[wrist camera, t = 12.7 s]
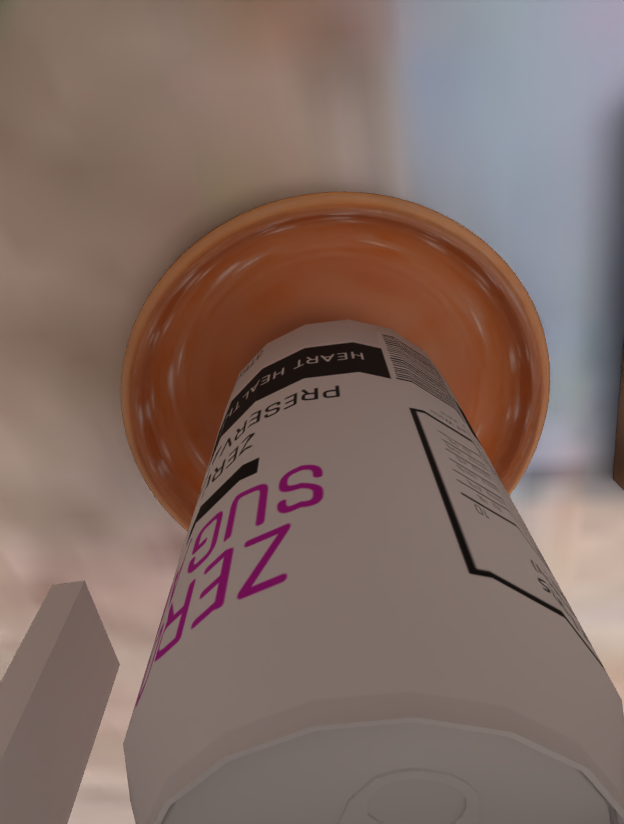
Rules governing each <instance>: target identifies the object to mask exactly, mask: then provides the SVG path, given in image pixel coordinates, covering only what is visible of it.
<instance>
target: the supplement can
mask: <svg viewBox="0 0 624 824" xmlns="http://www.w3.org/2000/svg"><path fill="white" fill-rule="evenodd" d="M123 747H124V755H125V762H126V770H127V778H128V786H129V794H130V801H131V805H132V810H133V814H134V818H135V822H136V824H624V715H623V707H622V700H621V698H620V696H619V694H618V693H617V691H616V689H615V687H614V685H613V683H612V682H611V680H610V678H609V676H608V674H607V673H606V671H605V669H604V667H603V665H602V663H601V662H600V660H599V658H598V656H597V654H596V653H595V651H594V649H593V647H592V645H591V643H590V642H589V640H588V638H587V636H586V634H585V633H584V631H583V629H582V627H581V625H580V623H579V622H578V620H577V618H576V616H575V614H574V613H573V611H572V609H571V607H570V605H569V603H568V602H567V600H566V598H565V596H564V594H563V593H562V591H561V589H560V587H559V585H558V583H557V582H556V580H555V578H554V576H553V574H552V573H551V571H550V569H549V567H548V565H547V563H546V562H545V560H544V558H543V556H542V554H541V553H540V551H539V549H538V547H537V545H536V543H535V542H534V540H533V538H532V536H531V534H530V533H529V531H528V529H527V527H526V525H525V523H524V522H523V520H522V518H521V516H520V514H519V513H518V511H517V509H516V507H515V505H514V503H513V502H512V500H511V498H510V496H509V494H508V493H507V491H506V489H505V487H504V485H503V483H502V482H501V480H500V478H499V476H498V474H497V473H496V471H495V469H494V467H493V465H492V463H491V462H490V460H489V458H488V456H487V454H486V453H485V451H484V449H483V447H482V445H481V443H480V442H479V440H478V438H477V436H476V434H475V433H474V431H473V429H472V427H471V425H470V423H469V422H468V420H467V418H466V416H465V414H464V413H463V411H462V409H461V407H460V405H459V403H458V402H457V400H456V398H455V396H454V394H453V393H452V391H451V389H450V387H449V385H448V383H447V382H446V380H445V379H444V378H443V376H442V375H441V373H440V372H439V371H438V369H437V368H436V366H435V365H434V364H433V362H432V361H431V359H430V358H429V357H428V355H427V354H426V352H425V351H424V350H422V349H421V348H419V347H418V346H416V345H415V344H413V343H412V342H410V341H409V340H407V339H405V338H404V337H402V336H401V335H399V334H398V333H396V332H395V331H393V330H391V329H390V328H385V327H381V326H376V325H372V324H367V323H363V322H358V321H354V320H349V319H347V320H338V321H330V322H322V323H314V324H306V325H303V326H301V327H299V328H297V329H295V330H293V331H291V332H289V333H287V334H285V335H283V336H281V337H279V338H277V339H275V340H273V341H271V342H269V343H267V344H266V345H265V346H264V347H263V349H262V350H261V351H260V352H259V353H258V354H257V355H256V356H255V357H254V358H253V359H252V360H251V361H250V362H249V363H248V365H247V366H246V367H245V368H244V369H243V370H242V371H241V372H240V373H239V376H238V378H237V381H236V384H235V386H234V389H233V391H232V394H231V396H230V399H229V401H228V404H227V406H226V409H225V412H224V416H223V419H222V422H221V425H220V429H219V432H218V435H217V439H216V442H215V445H214V448H213V452H212V455H211V458H210V462H209V465H208V468H207V471H206V475H205V478H204V481H203V484H202V488H201V491H200V494H199V498H198V501H197V504H196V507H195V511H194V514H193V517H192V520H191V524H190V527H189V530H188V534H187V537H186V540H185V543H184V547H183V550H182V553H181V556H180V560H179V563H178V566H177V570H176V573H175V576H174V579H173V583H172V586H171V589H170V592H169V596H168V599H167V602H166V606H165V609H164V612H163V615H162V619H161V622H160V625H159V629H158V632H157V635H156V638H155V642H154V645H153V648H152V651H151V655H150V658H149V661H148V665H147V668H146V671H145V674H144V678H143V681H142V684H141V687H140V691H139V694H138V697H137V701H136V704H135V707H134V710H133V714H132V717H131V720H130V723H129V727H128V730H127V733H126V737H125V740H124V743H123Z"/></svg>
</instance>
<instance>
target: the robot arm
mask: <svg viewBox="0 0 624 824" xmlns="http://www.w3.org/2000/svg"><path fill="white" fill-rule="evenodd" d="M119 665H120V664H119V661H118V659H117V657H116V654H115V652H114V650H113V647H112V645H111V642H110V640H109V638H108V635H107V633H106V631H105V628H104V626H103V623H102V621H101V619H100V616H99V614H98V612H97V609H96V607H95V604H94V602H93V600H92V597H91V595H90V593H89V590H88V588H87V585H86V583H85V581H79V582H71V583H64V584H56V585H52V587H51V588H50V590H49V592H48V594H47V596H46V598H45V600H44V602H43V603H42V605H41V607H40V609H39V611H38V613H37V615H36V617H35V619H34V620H33V622H32V624H31V626H30V628H29V630H28V632H27V634H26V635H25V637H24V639H23V641H22V643H21V645H20V647H19V649H18V650H17V652H16V654H15V656H14V658H13V660H12V662H11V664H10V666H9V667H8V669H7V671H6V673H5V675H4V677H3V679H2V681H1V682H0V824H67V823H68V820H69V817H70V814H71V811H72V808H73V805H74V802H75V798H76V795H77V792H78V789H79V786H80V783H81V780H82V777H83V774H84V771H85V768H86V765H87V762H88V759H89V756H90V753H91V750H92V747H93V744H94V741H95V738H96V735H97V732H98V729H99V726H100V723H101V720H102V717H103V714H104V711H105V708H106V705H107V702H108V699H109V696H110V693H111V690H112V687H113V684H114V681H115V678H116V674H117V671H118V668H119Z"/></svg>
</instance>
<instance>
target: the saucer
mask: <svg viewBox="0 0 624 824" xmlns="http://www.w3.org/2000/svg"><path fill="white" fill-rule="evenodd" d="M347 319H349V320H354V321H358V322H363V323H367V324H372V325H376V326H381V327H385V328H390V329H391V330H393V331H395V332H396V333H398V334H399V335H401V336H402V337H404V338H405V339H407V340H409V341H410V342H412V343H413V344H415V345H416V346H418V347H419V348H421V349H422V350H424V351H425V352H426V354H427V355H428V357H429V358H430V359H431V361H432V362H433V364H434V365H435V366H436V368H437V369H438V371H439V372H440V373H441V375H442V376H443V378H444V379H445V380H446V382H447V383H448V385H449V387H450V389H451V391H452V393H453V394H454V396H455V398H456V400H457V402H458V403H459V405H460V407H461V409H462V411H463V413H464V414H465V416H466V418H467V420H468V422H469V423H470V425H471V427H472V429H473V431H474V433H475V434H476V436H477V438H478V440H479V442H480V443H481V445H482V447H483V449H484V451H485V453H486V454H487V456H488V458H489V460H490V462H491V463H492V465H493V467H494V469H495V471H496V473H497V474H498V476H499V478H500V480H501V482H502V483H503V485H504V487H505V489H506V491H507V493H508V494H509V495H510V494H511V492H512V491H513V490H514V488H515V487H516V485H517V484H518V482H519V481H520V479H521V477H522V476H523V474H524V472H525V471H526V469H527V467H528V465H529V463H530V461H531V459H532V457H533V454H534V452H535V450H536V448H537V445H538V442H539V439H540V436H541V433H542V430H543V426H544V422H545V418H546V413H547V408H548V402H549V392H550V364H549V356H548V349H547V344H546V339H545V335H544V331H543V328H542V324H541V321H540V318H539V316H538V313H537V311H536V309H535V306H534V304H533V302H532V300H531V298H530V296H529V294H528V293H527V291H526V289H525V288H524V286H523V285H522V283H521V281H520V280H519V279H518V277H517V276H516V274H515V273H514V272H513V271H512V269H511V268H510V267H509V266H508V264H507V263H506V262H505V261H504V260H503V259H502V258H501V257H500V256H499V255H498V254H497V253H496V252H495V251H494V250H493V249H492V248H491V247H490V246H489V245H488V244H487V243H485V242H484V241H483V240H482V239H481V238H479V237H478V236H477V235H475V234H474V233H473V232H471V231H470V230H468V229H467V228H465V227H463V226H462V225H460V224H459V223H457V222H455V221H454V220H452V219H450V218H448V217H446V216H444V215H442V214H440V213H438V212H436V211H434V210H431V209H429V208H426V207H424V206H421V205H418V204H415V203H412V202H409V201H405V200H402V199H398V198H394V197H389V196H384V195H378V194H371V193H362V192H324V193H314V194H306V195H300V196H295V197H290V198H286V199H282V200H278V201H275V202H272V203H269V204H266V205H263V206H260V207H257V208H255V209H252V210H250V211H248V212H246V213H244V214H241V215H239V216H237V217H235V218H233V219H231V220H229V221H228V222H226V223H224V224H223V225H221V226H219V227H218V228H216V229H214V230H213V231H211V232H210V233H208V234H207V235H206V236H204V237H203V238H201V239H200V240H199V241H198V242H196V243H195V244H194V245H193V246H192V247H190V248H189V249H188V250H187V251H186V252H185V253H184V254H183V255H182V256H180V257H179V258H178V259H177V260H176V262H175V263H174V264H173V265H172V266H171V267H170V268H169V269H168V271H167V272H166V273H165V274H164V276H163V277H162V278H161V279H160V281H159V282H158V283H157V285H156V286H155V288H154V289H153V291H152V292H151V293H150V295H149V296H148V298H147V300H146V302H145V304H144V305H143V307H142V309H141V311H140V313H139V315H138V317H137V319H136V322H135V324H134V326H133V329H132V332H131V335H130V338H129V341H128V344H127V348H126V352H125V357H124V362H123V368H122V376H121V405H122V415H123V421H124V427H125V432H126V435H127V439H128V443H129V446H130V449H131V452H132V454H133V457H134V460H135V462H136V464H137V466H138V468H139V470H140V472H141V474H142V476H143V478H144V480H145V481H146V483H147V485H148V487H149V488H150V490H151V491H152V493H153V494H154V496H155V497H156V498H157V500H158V501H159V502H160V504H161V505H162V506H163V507H164V508H165V509H166V511H167V512H168V513H169V514H170V515H171V516H172V517H173V518H174V519H175V520H176V521H177V522H178V523H179V524H180V525H181V526H182V527H183V528H184V529H186V530H187V531H188V530H189V527H190V524H191V520H192V517H193V514H194V511H195V507H196V504H197V501H198V498H199V494H200V491H201V488H202V484H203V481H204V478H205V475H206V471H207V468H208V465H209V462H210V458H211V455H212V452H213V448H214V445H215V442H216V439H217V435H218V432H219V429H220V425H221V422H222V419H223V416H224V412H225V409H226V406H227V404H228V401H229V399H230V396H231V394H232V391H233V389H234V386H235V384H236V381H237V378H238V376H239V373H240V372H241V371H242V370H243V369H244V368H245V367H246V366H247V365H248V363H249V362H250V361H251V360H252V359H253V358H254V357H255V356H256V355H257V354H258V353H259V352H260V351H261V350H262V349H263V347H264V346H265V345H266V344H267V343H269V342H271V341H273V340H275V339H277V338H279V337H281V336H283V335H285V334H287V333H289V332H291V331H293V330H295V329H297V328H299V327H301V326H303V325H306V324H314V323H322V322H330V321H338V320H347Z"/></svg>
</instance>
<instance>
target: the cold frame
mask: <svg viewBox="0 0 624 824" xmlns="http://www.w3.org/2000/svg"><path fill="white" fill-rule="evenodd" d="M613 479H614V480H615V482H616V483H617V484H618V485H619V486H620V487H621V488H622V489H623V490H624V345H623V357H622V370H621V382H620V395H619V407H618V420H617V433H616V445H615V458H614V470H613Z"/></svg>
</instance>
